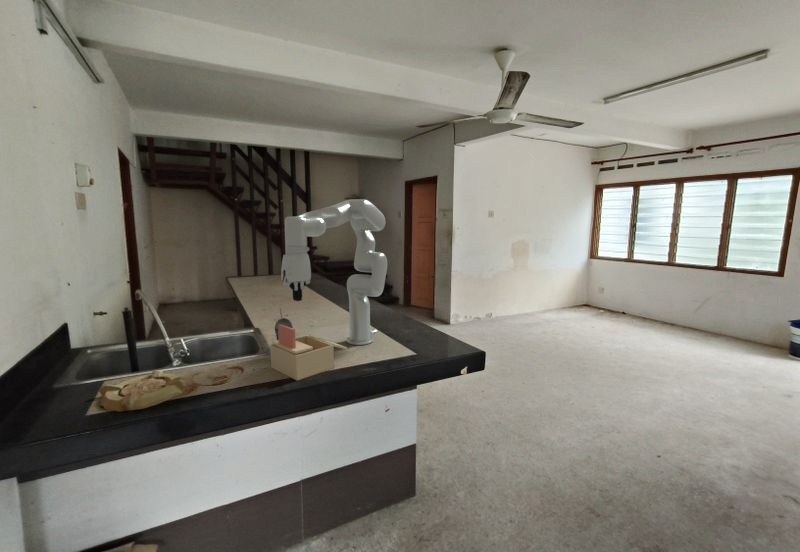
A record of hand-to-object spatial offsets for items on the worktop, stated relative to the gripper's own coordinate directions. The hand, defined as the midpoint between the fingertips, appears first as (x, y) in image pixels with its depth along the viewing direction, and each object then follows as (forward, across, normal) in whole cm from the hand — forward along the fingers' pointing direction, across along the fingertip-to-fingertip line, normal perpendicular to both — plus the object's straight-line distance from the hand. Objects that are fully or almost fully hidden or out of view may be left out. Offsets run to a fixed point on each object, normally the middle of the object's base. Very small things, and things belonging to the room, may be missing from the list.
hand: (297, 300), depth 139 cm
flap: (+17, +3, 0) cm, 17 cm away
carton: (+26, -1, 0) cm, 26 cm away
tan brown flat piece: (+27, +46, -18) cm, 56 cm away
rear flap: (+19, -13, 0) cm, 23 cm away
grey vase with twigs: (+27, -4, -18) cm, 32 cm away
